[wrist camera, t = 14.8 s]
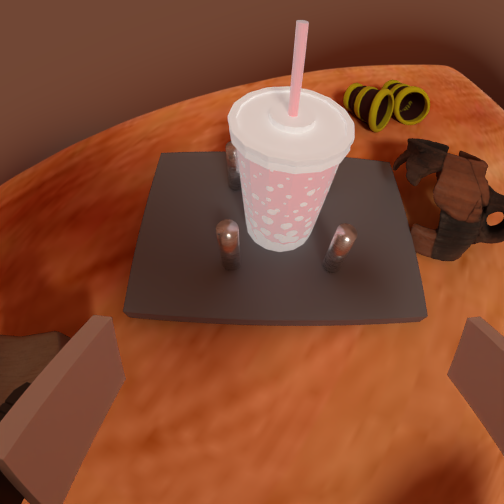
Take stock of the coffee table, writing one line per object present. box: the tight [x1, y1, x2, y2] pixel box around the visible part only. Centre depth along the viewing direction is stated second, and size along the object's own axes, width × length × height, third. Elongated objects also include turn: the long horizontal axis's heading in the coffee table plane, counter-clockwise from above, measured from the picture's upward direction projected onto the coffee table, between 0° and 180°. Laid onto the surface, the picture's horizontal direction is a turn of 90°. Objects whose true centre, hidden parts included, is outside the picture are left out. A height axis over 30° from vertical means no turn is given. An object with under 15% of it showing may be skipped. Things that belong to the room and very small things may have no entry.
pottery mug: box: [392, 138, 504, 261], centre depth 21 cm, size 12×10×8 cm
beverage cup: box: [228, 20, 354, 252], centre depth 15 cm, size 6×6×14 cm
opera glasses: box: [343, 80, 430, 132], centre depth 28 cm, size 10×5×5 cm, turn 115°
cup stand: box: [123, 141, 428, 326], centre depth 20 cm, size 20×14×5 cm
